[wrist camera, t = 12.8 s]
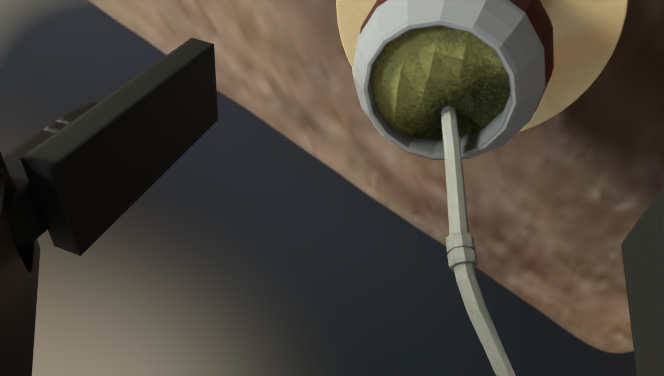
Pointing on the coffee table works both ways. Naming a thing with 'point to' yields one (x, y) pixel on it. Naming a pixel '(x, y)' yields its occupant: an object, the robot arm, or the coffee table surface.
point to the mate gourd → (455, 100)
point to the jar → (568, 42)
